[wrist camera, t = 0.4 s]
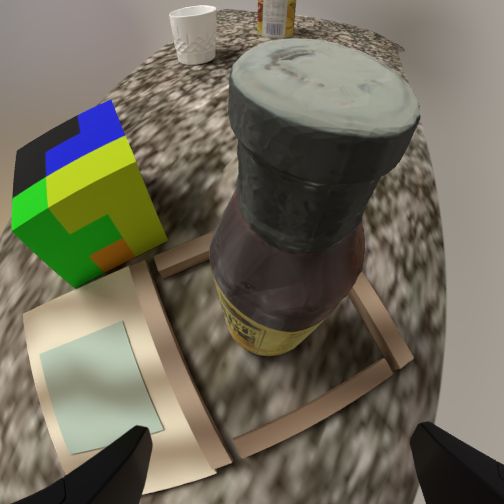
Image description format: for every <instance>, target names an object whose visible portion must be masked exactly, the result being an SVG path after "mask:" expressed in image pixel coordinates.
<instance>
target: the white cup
mask: <svg viewBox="0 0 504 504" xmlns="http://www.w3.org/2000/svg"><path fill="white" fill-rule="evenodd" d="M216 10H217V8H216V7H213V6H192V7H186V8H182V9H178V10H175V11H173V12H171V13H170V14H169V17H170V22H171V28H172V34H173V38H174V43H175V47H176V50H177V56H178V61H179V62H180V63H182V64H186V65H197V64H203V63H206V62H209V61H211V60H213V59H214V58H215V45H216V18H217V11H216Z"/></svg>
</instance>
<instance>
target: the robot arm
mask: <svg viewBox="0 0 504 504" xmlns="http://www.w3.org/2000/svg"><path fill="white" fill-rule="evenodd" d="M410 446H411V450H412V455H413V459H414V464H415V469H416V473H417V477H418V480H419V483H420V486H421V489H422V492H423V496H424V499H425V502H426V504H504V465H503V464H501V463H500V462H497V461H496V460H494V459H492V458H490V457H489V456H487V455H485V454H483V453H482V452H480V451H478V450H476V449H475V448H473V447H471V446H470V445H468V444H466V443H464V442H463V441H461V440H459V439H457V438H456V437H454V436H452V435H451V434H449V433H448V432H446V431H444V430H443V429H441V428H439V427H437V426H436V425H434V424H433V423H431V422H428V421H427V422H423V423H419V424H418V425H417V427H416V429H415V431H414V433H413V435H412V437H411V439H410ZM152 449H153V442H152V438H151V435H150V431H149V428H148V427H145V426H140V425H135V426H134V427H132V428H131V429H130V430H128V431H127V432H126V433H124V434H123V435H122V436H120V437H119V438H118V439H116V440H115V441H114V442H112V443H111V444H109V445H108V446H107V447H105V448H104V449H103V450H101V451H100V452H98V453H97V454H96V455H94V456H93V457H91V458H90V459H89V460H87V461H86V462H84V463H83V464H81V465H80V466H79V467H77V468H76V469H74V470H73V471H71V472H70V473H68V474H67V475H65V476H64V478H63V477H62V478H61V479H59V480H58V481H56V482H54V483H53V484H51V485H49V486H48V487H46V488H44V489H42V490H40V491H38V492H36V493H34V494H32V495H30V496H28V497H26V498H23V499H21V500H19V501H16V502H14V503H11V504H139V502H140V499H141V496H142V493H143V490H144V487H145V483H146V478H147V473H148V468H149V463H150V458H151V453H152Z"/></svg>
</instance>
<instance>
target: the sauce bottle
mask: <svg viewBox="0 0 504 504" xmlns="http://www.w3.org/2000/svg"><path fill="white" fill-rule="evenodd" d="M228 113H229V119H230V124H231V128H232V130H233V132H234V134H235V135H236V137H237V138H238V146H237V148H238V151H237V155H238V160H239V167H238V169H239V174H238V178H237V183H236V186H237V188H236V190H235V192H234V194H233V196H232V198H231V200H230V202H229V204H228V206H227V208H226V209H225V211H224V213H223V215H222V217H221V219H220V221H219V223H218V225H217V227H216V229H215V231H214V233H213V236H212V238H211V243H210V248H209V260H210V265H211V270H212V274H213V278H214V281H215V285H216V288H217V292H218V296H219V300H220V303H221V306H222V310H223V313H224V317H225V320H226V324H227V327H228V330H229V332H230V334H231V335H232V337H233V339H234V340H235V341H236V342H237V343H238V344H239V345H240V346H241V347H243V348H244V349H246V350H248V351H250V352H252V353H254V354H257V355H262V356H274V355H280V354H283V353H286V352H288V351H290V350H292V349H294V348H295V347H296V346H297V345H298V344H300V343H301V342H302V341H303V340H304V339H305V338H306V337H307V336H308V335H309V334H311V333H312V332H313V331H314V330H315V329H316V328H317V327H318V326H319V325H320V324H321V323H322V322H323V321H324V320H325V319H326V318H327V317H328V316H329V315H330V314H331V313H332V312H333V311H334V310H335V309H336V307H337V306H338V304H339V303H340V301H341V300H342V299H343V298H344V297H346V295H347V294H348V292H349V291H350V290H351V289H352V287H353V285H354V284H355V283H356V280H357V278H358V276H359V275H360V273H361V272H362V270H363V262H364V254H365V239H364V237H365V236H364V229H363V226H362V216H363V212H364V210H365V207H366V205H367V203H368V201H369V198H370V197H371V195H372V193H373V191H374V190H375V188H376V185H377V183H378V181H379V180H380V178H381V176H383V175H385V174H387V173H389V172H390V171H391V170H392V169H393V168H395V167H396V165H397V164H398V163H399V162H400V160H401V158H402V157H403V155H404V153H405V151H406V149H407V147H408V145H409V143H410V140H411V138H412V136H413V133H414V131H415V129H416V127H417V125H418V122H419V120H420V113H419V103H418V100H417V98H416V96H415V94H414V92H413V91H412V89H411V87H410V86H409V85H408V84H407V83H406V82H405V81H404V80H403V79H402V78H401V77H400V76H399V75H398V74H396V73H395V72H394V71H393V70H392V69H391V68H390V67H388V66H387V65H385V64H384V63H382V62H380V61H379V60H377V59H376V58H374V57H372V56H369V55H367V54H365V53H363V52H361V51H358V50H354V49H351V48H348V47H345V46H342V45H340V44H336V43H332V42H328V41H322V40H315V39H297V38H291V39H280V40H275V41H268V42H265V43H262V44H260V45H258V46H255V47H253V48H251V49H250V50H248V51H247V52H245V53H244V54H243V55H242V56H240V57H239V59H238V60H237V61H236V62H235V63H234V64H233V66H232V69H231V73H230V77H229V106H228Z"/></svg>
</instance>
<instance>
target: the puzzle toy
mask: <svg viewBox="0 0 504 504" xmlns="http://www.w3.org/2000/svg"><path fill="white" fill-rule="evenodd" d="M12 232H13V233H14V234H15V235H16V236H17V237H18V238H19V239H20V240H21V241H22V242H23V243H24V244H25V245H26V246H28V247H29V248H30V249H31V250H32V251H33V252H34V253H35V254H36V255H37V256H38V257H39V258H40V259H41V260H43V261H44V262H45V263H46V264H47V265H48V266H49V267H50V268H52V269H53V270H54V271H55V272H56V273H57V274H58V275H60V276H61V277H62V278H63V279H64V280H66V281H67V282H68V283H69V284H70V285H72V286H73V287H74V288H77V287H79V286H81V285H83V284H85V283H86V282H88V281H90V280H92V279H94V278H96V277H98V276H100V275H101V274H103V273H105V272H107V271H109V270H111V269H113V268H115V267H117V266H119V265H121V264H123V263H125V262H127V261H128V260H130V259H132V258H134V257H136V256H138V255H140V254H142V253H144V252H146V251H148V250H150V249H152V248H154V247H156V246H158V245H160V244H163V243H165V242H167V241H168V239H167V237H166V234H165V232H164V230H163V227H162V225H161V223H160V220H159V218H158V215H157V213H156V211H155V208H154V206H153V203H152V201H151V198H150V196H149V193H148V191H147V188H146V186H145V183H144V181H143V178H142V176H141V173H140V170H139V168H138V165H137V163H136V160H135V158H134V155H133V153H132V151H131V148H130V146H129V143H128V141H127V139H126V136H125V134H124V131H123V129H122V126H121V124H120V121H119V119H118V116H117V113H116V111H115V108H114V106H113V103H112V100H109V101H107V102H104V103H102V104H100V105H98V106H96V107H94V108H91V109H89V110H87V111H85V112H83V113H81V114H79V115H77V116H75V117H73V118H72V119H70V120H68V121H66V122H64V123H62V124H60V125H59V126H57V127H55V128H53V129H51V130H50V131H48V132H46V133H45V134H43V135H41V136H40V137H38V138H36V139H35V140H33V141H31V142H30V143H28V144H27V145H25V146H24V147H22V148H20V149H19V150H18V151H17V154H16V163H15V171H14V182H13V199H12Z"/></svg>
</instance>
